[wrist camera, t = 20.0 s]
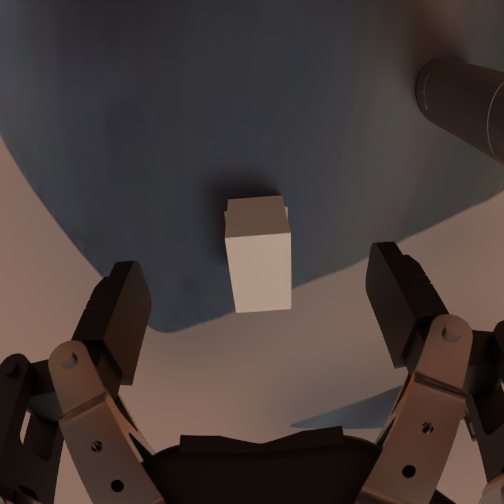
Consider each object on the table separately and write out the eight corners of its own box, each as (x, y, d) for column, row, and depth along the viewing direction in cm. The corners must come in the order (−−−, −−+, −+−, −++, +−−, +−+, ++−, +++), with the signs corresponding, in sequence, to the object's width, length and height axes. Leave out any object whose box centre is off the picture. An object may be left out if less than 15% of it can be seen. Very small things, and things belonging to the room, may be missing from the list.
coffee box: (458, 404, 84) (472, 442, 71) (456, 399, 81) (471, 440, 68) (481, 390, 81) (496, 429, 67) (479, 385, 78) (496, 425, 64)
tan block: (281, 195, 40) (290, 232, 33) (284, 264, 46) (291, 308, 39) (228, 199, 40) (224, 238, 33) (237, 268, 47) (236, 312, 39)
